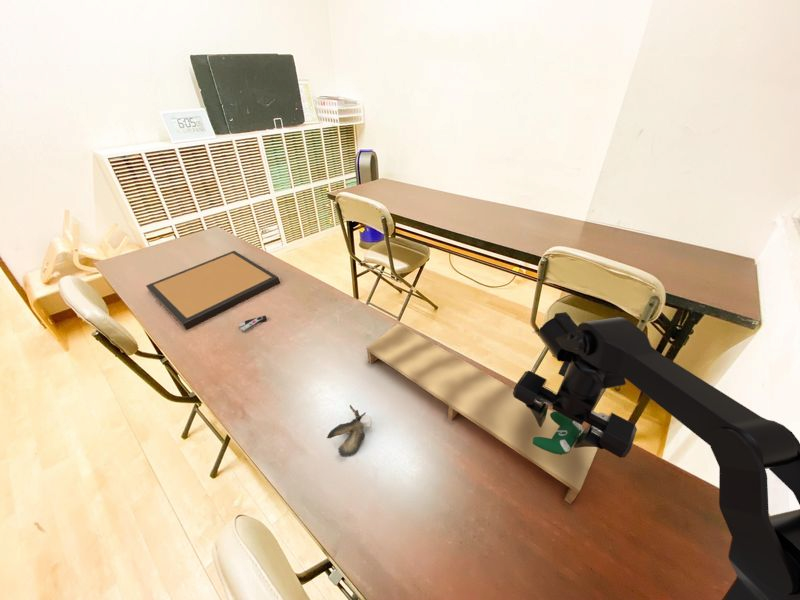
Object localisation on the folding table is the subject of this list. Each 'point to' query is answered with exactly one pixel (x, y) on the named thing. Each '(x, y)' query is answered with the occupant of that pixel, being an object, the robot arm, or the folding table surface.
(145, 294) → the folding table surface
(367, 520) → the folding table surface
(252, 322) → the usb flash drive
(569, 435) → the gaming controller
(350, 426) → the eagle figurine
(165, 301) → the cork board
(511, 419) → the shelf
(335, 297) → the folding table surface
